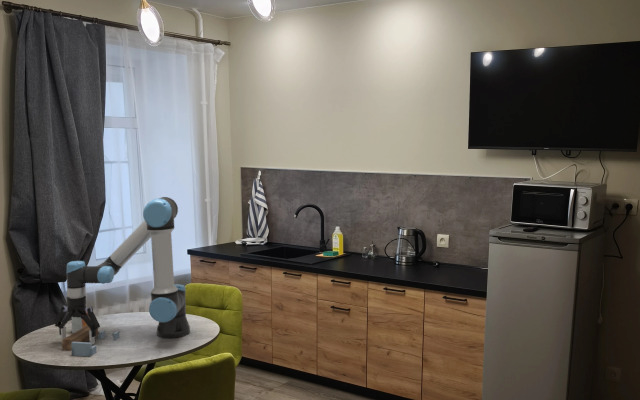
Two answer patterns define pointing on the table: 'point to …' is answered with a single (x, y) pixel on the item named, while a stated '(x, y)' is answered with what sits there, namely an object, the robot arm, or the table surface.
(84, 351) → the end cap
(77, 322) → the small box
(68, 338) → the slat
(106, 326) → the table surface
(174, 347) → the table surface
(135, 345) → the table surface
